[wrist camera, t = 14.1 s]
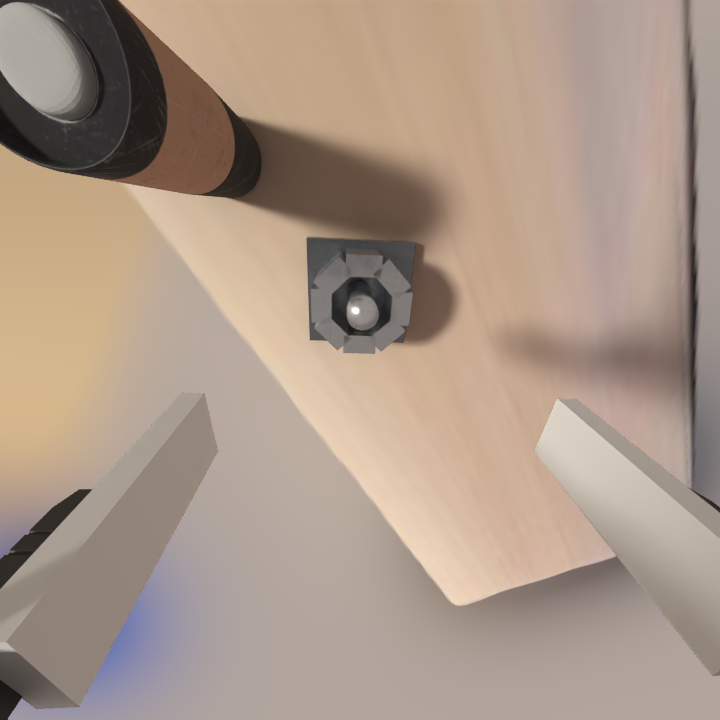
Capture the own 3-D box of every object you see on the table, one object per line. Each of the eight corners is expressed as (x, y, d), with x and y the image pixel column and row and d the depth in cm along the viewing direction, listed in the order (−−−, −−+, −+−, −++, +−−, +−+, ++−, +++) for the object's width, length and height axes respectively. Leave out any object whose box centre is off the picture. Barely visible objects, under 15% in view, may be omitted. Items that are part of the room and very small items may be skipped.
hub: (316, 246, 31) (309, 252, 26) (405, 250, 32) (417, 257, 27) (317, 331, 36) (312, 352, 30) (396, 334, 36) (405, 354, 31)
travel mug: (277, 186, 30) (175, 138, 12) (211, 211, 31) (24, 200, 13) (241, 95, 27) (29, -157, 9) (169, 125, 27) (-163, -49, 10)
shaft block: (308, 236, 32) (294, 243, 24) (412, 241, 33) (436, 249, 24) (311, 335, 38) (301, 370, 29) (401, 338, 38) (417, 372, 30)
